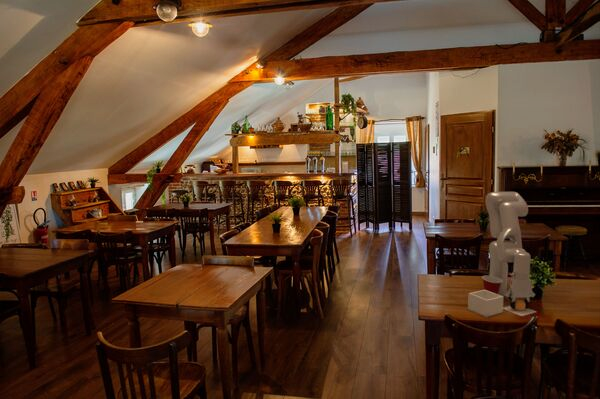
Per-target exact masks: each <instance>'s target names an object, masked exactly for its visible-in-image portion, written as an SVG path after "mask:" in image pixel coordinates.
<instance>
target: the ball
mask: <svg viewBox="0 0 600 399" xmlns="http://www.w3.org/2000/svg"><path fill="white" fill-rule="evenodd" d="M514 302H515V309H517V310H523V309H524V308H525V307H526V304H525V302H524V300H523V298H522V299H521V298H515V300H514Z"/></svg>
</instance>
